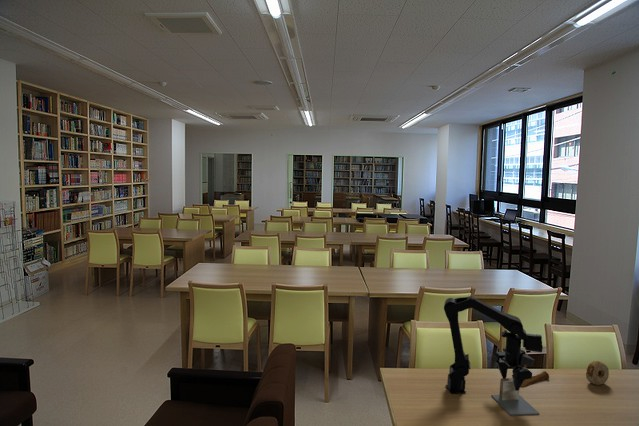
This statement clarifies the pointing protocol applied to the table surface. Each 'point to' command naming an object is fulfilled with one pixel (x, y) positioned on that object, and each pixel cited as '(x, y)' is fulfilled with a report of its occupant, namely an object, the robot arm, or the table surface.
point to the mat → (516, 406)
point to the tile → (508, 390)
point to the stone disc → (597, 373)
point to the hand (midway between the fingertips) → (510, 384)
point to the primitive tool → (535, 379)
